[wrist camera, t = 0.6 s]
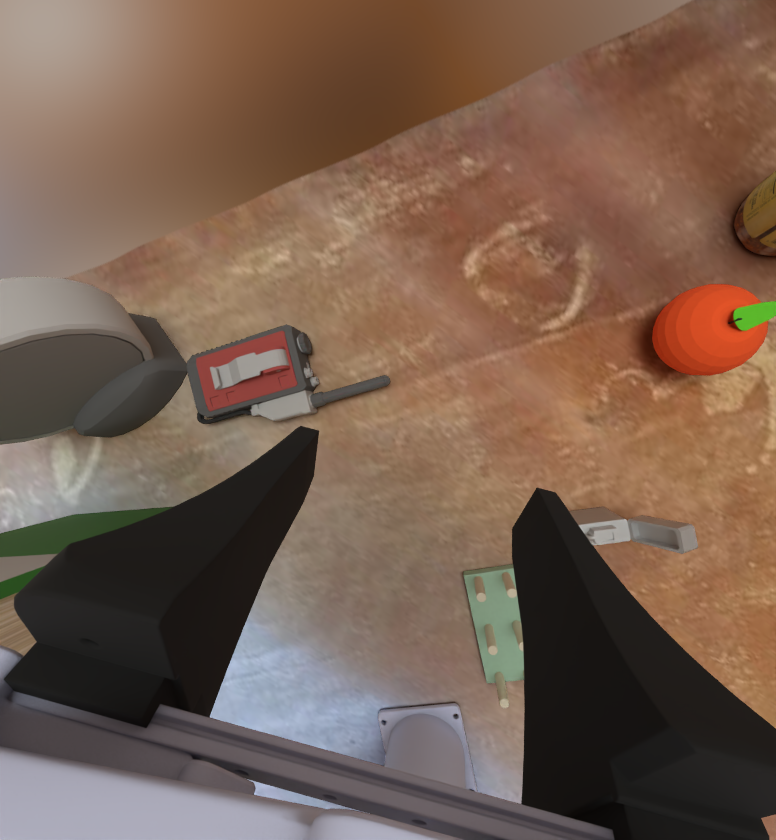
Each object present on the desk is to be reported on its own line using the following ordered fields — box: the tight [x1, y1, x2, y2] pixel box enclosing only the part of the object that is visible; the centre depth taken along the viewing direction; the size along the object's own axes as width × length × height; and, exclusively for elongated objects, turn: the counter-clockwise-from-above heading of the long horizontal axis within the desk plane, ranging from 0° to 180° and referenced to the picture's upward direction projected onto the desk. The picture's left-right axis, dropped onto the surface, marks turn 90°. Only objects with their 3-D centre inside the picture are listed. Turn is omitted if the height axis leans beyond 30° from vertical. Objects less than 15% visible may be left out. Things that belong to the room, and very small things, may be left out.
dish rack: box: [463, 564, 524, 708], centre depth 33 cm, size 10×10×4 cm
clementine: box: [652, 284, 776, 375], centre depth 30 cm, size 8×7×7 cm
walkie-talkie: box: [186, 325, 390, 424], centre depth 37 cm, size 9×4×20 cm
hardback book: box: [0, 507, 172, 656], centre depth 30 cm, size 18×7×24 cm, turn 96°
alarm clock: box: [0, 276, 187, 445], centre depth 33 cm, size 16×10×18 cm, turn 127°
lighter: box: [569, 507, 698, 554], centre depth 31 cm, size 7×2×8 cm, turn 100°
